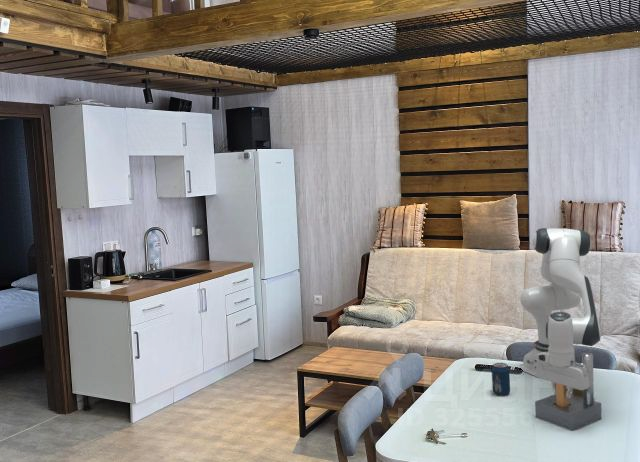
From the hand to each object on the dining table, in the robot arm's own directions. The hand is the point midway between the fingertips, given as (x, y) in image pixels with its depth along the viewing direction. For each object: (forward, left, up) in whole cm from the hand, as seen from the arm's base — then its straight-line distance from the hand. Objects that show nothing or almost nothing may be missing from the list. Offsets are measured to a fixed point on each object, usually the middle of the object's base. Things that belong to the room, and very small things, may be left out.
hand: (562, 395), depth 234 cm
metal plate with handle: (0, +3, -9) cm, 10 cm away
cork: (-8, +20, -10) cm, 24 cm away
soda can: (-33, +4, -10) cm, 35 cm away
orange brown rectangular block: (0, 0, -4) cm, 4 cm away
